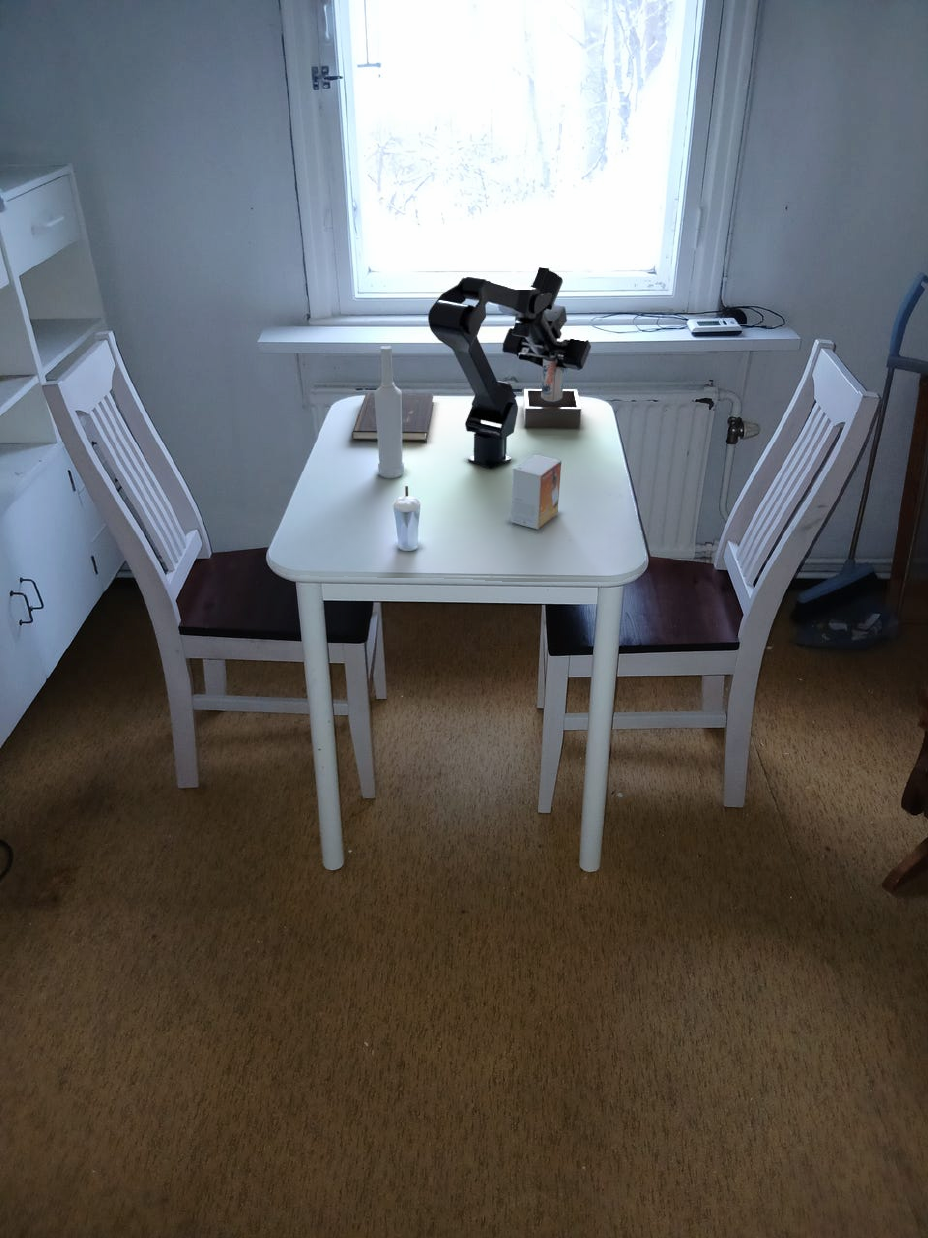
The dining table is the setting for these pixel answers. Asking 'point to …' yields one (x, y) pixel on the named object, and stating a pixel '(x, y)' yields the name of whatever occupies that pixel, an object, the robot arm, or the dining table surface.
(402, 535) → the milkshake
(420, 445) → the dining table surface
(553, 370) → the beer can
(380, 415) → the bottle
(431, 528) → the dining table surface
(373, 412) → the hardcover book
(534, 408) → the crate
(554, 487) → the small box
